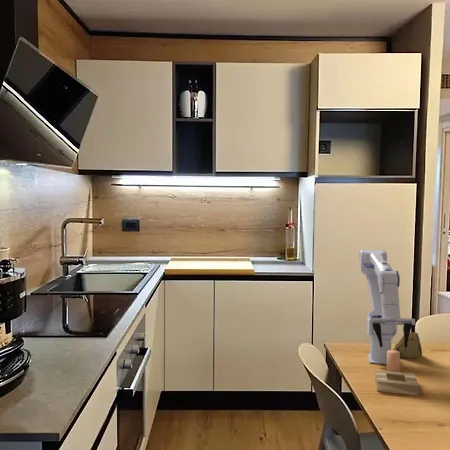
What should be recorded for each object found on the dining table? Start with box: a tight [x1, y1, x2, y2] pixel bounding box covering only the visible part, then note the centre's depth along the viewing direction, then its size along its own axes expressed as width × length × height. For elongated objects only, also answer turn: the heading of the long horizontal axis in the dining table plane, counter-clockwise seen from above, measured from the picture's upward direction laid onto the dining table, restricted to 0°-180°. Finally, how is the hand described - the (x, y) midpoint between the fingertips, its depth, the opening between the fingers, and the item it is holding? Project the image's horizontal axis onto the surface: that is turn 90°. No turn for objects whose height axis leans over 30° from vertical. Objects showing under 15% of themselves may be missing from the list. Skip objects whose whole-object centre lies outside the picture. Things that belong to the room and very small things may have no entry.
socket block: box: [374, 369, 420, 396], centre depth 150 cm, size 10×12×3 cm
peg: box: [386, 349, 401, 372], centre depth 160 cm, size 4×4×8 cm
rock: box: [393, 331, 423, 359], centre depth 180 cm, size 11×9×10 cm
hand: (393, 347), depth 157 cm, fingers open, 7 cm apart
